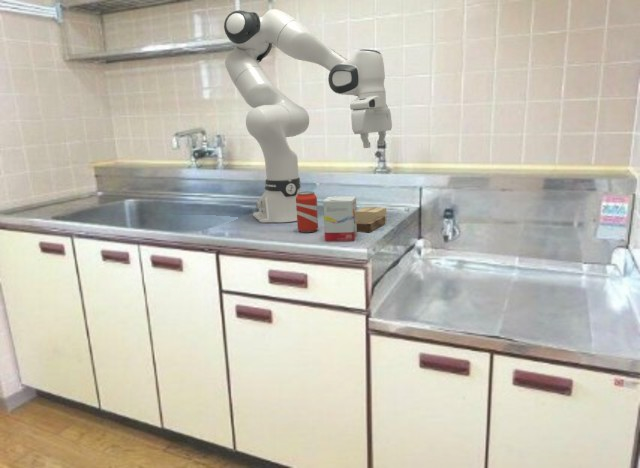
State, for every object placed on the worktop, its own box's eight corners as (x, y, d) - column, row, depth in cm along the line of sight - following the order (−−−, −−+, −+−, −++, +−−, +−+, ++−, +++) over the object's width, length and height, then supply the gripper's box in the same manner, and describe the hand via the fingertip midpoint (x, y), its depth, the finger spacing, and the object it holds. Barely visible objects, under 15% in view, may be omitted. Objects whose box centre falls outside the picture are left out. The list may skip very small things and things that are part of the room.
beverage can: (322, 230, 155) (320, 192, 152) (305, 234, 151) (303, 195, 149) (310, 227, 160) (308, 190, 157) (294, 231, 156) (291, 193, 153)
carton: (365, 219, 168) (365, 206, 167) (386, 221, 165) (386, 207, 164) (355, 224, 162) (354, 211, 160) (376, 226, 158) (376, 212, 157)
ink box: (354, 241, 140) (352, 199, 137) (324, 241, 142) (322, 200, 139) (358, 234, 148) (356, 194, 145) (329, 234, 150) (327, 195, 147)
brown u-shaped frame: (351, 221, 165) (351, 214, 164) (385, 224, 159) (385, 216, 158) (334, 230, 155) (333, 222, 154) (369, 232, 149) (369, 224, 148)
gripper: (378, 103, 169) (380, 144, 172) (346, 104, 152) (349, 149, 155) (395, 101, 165) (397, 143, 168) (364, 102, 149) (367, 149, 152)
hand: (374, 146), depth 161 cm, fingers open, 8 cm apart
